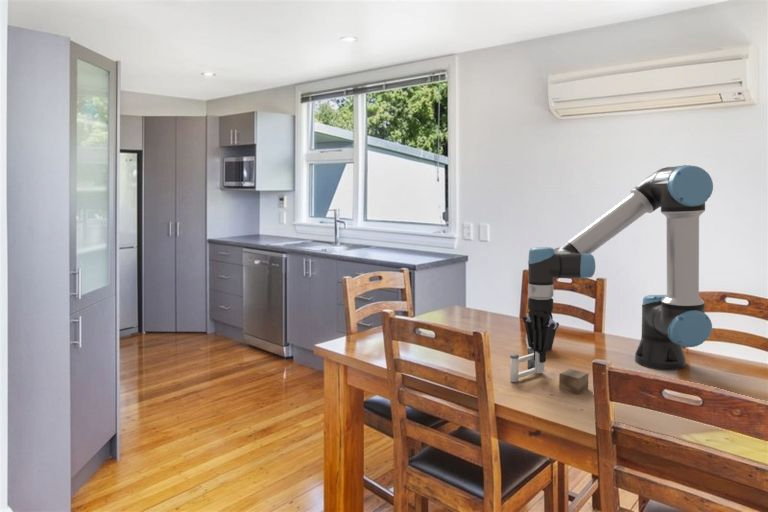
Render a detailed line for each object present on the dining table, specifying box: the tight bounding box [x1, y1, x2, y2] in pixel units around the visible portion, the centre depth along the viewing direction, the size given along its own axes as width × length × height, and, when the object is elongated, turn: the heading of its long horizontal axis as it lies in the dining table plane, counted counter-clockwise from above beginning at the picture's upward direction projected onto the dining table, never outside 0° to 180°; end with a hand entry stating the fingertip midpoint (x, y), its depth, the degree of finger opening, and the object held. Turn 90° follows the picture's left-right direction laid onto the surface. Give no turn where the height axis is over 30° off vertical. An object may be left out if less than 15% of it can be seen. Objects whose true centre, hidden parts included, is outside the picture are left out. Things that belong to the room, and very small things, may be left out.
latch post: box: [526, 347, 535, 370], centre depth 178 cm, size 3×3×8 cm
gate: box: [509, 353, 544, 383], centre depth 170 cm, size 14×3×8 cm, turn 125°
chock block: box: [558, 368, 590, 396], centre depth 160 cm, size 6×6×5 cm
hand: (539, 371), depth 170 cm, fingers closed
